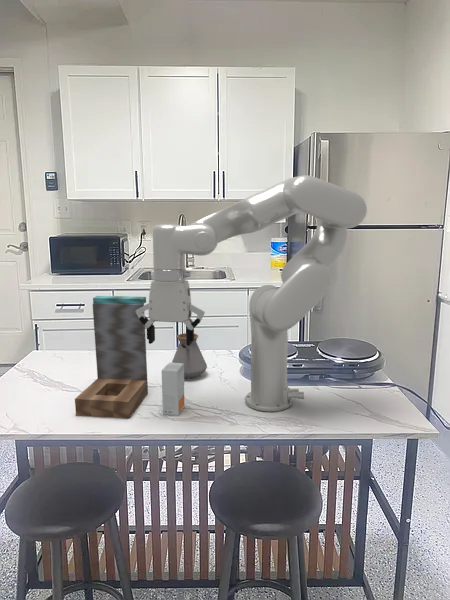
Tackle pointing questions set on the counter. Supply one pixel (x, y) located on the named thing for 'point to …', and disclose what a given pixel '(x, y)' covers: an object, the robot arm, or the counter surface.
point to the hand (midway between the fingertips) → (170, 343)
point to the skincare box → (173, 388)
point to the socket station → (116, 359)
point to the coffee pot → (190, 358)
